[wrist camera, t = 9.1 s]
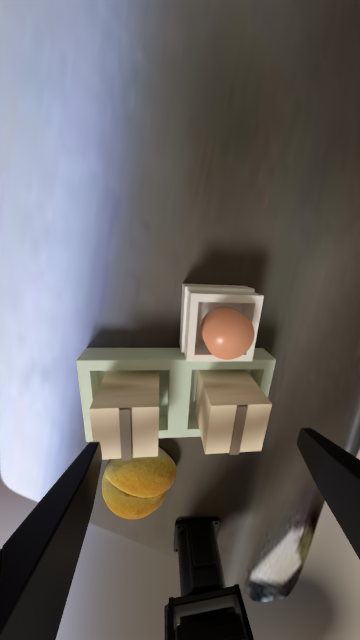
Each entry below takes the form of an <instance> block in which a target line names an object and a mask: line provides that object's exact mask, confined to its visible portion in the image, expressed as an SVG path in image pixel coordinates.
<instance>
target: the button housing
mask: <svg viewBox="0 0 360 640" xmlns="http://www.w3.org/2000/svg"><path fill="white" fill-rule="evenodd" d="M254 291H255V289H253V288H250V287H247V286H236V285H210V284H184V283H183V285H182V303H181V322H180V341H179V344H180V348H181V353H184V354H185V358H186V361H187V362H216V361H252V359H253V354H254V348H255V343H256V337H257V332H258V326H259V320H260V315H261V309H262V304H263V298H264V296H263V295H260V294H258V293H255V292H254ZM220 306H228V307H231V308H234V309H235V310H237V311H238V312H240V313H241V314H243V315H244V316H245V317H247V318H248V319H249V320H250V321H251V323H252V324H253V327H254V331H255V336H254V341H253V343H252V345H251V347H250V348H249V350H248V351H247V352H246V353H245V354H243V355H242V356H240V357H238V358H235V359H231V360H224V359H220V358H217V357H215V356H214V355H213V354H211V352H210V351H209V350H208V348H207V346H206V344H205V342H204V340H203V338H202V336H201V333H200V325H201V322H202V320H203V318H204V316H205V315H206V314H207V313H208V312H209V311H210V310H212V309H214V308H216V307H220Z"/></svg>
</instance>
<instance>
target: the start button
mask: <svg viewBox="0 0 360 640" xmlns="http://www.w3.org/2000/svg"><path fill="white" fill-rule="evenodd" d="M200 333H201V336H202V338H203V340H204V342H205V344H206V346H207V348H208V350H209V351H210V352H211V354H213V355H214V356H215V357H217V358H220V359H224V360H231V359H235V358H238V357H240V356H242V355H243V354H245V353H246V352H247V351H248V350H249V348H250V347H251V345H252V343H253V341H254V336H255V331H254V327H253V324H252V323H251V321H250V320H249V319H248V318H247V317H245V316H244V315H243V314H241V313H240V312H238V311H237V310H235V309H234V308H231V307H228V306H220V307H216V308H214V309H212V310H210V311H209V312H208V313H207V314H206V315H205V316H204V318H203V320H202V322H201V325H200Z"/></svg>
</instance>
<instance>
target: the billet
mask: <svg viewBox="0 0 360 640" xmlns="http://www.w3.org/2000/svg"><path fill="white" fill-rule="evenodd" d="M89 410H90V419H91V429H92V438H93V442H100V444H101V451H102V460H103V459H121V461H128V460H132V458H138V457H156V456H158V434H159V370H117V371H107V372H106V374H105V376H104V378H103V380H102V383H101V385H100V387H99V389H98V391H97V393H96V396H95V398H94V400H93V402H92V404H91V406H90V409H89Z"/></svg>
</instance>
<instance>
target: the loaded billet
mask: <svg viewBox="0 0 360 640" xmlns="http://www.w3.org/2000/svg"><path fill="white" fill-rule="evenodd" d="M271 407H272V403H271V402H270V400H269V399H268V398H267V397H266V395H265V394H264V393H263V391H262V390H261V389H260V387H259V386H258V385H257V383H256V382H255V381H254V379H253V378H252V377H251V375H250V374H249V373H248V372H247V370H246V369H219V370H198V372H197V383H196V394H195V406H194V408H195V412H196V416H197V421H198V425H199V429H200V434H201V438H202V442H203V447H204V451H205V454H216V453H229V454H230V455H238V454H239V452H251V451H261V450H262V445H263V441H264V437H265V433H266V428H267V424H268V420H269V415H270V411H271Z"/></svg>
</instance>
